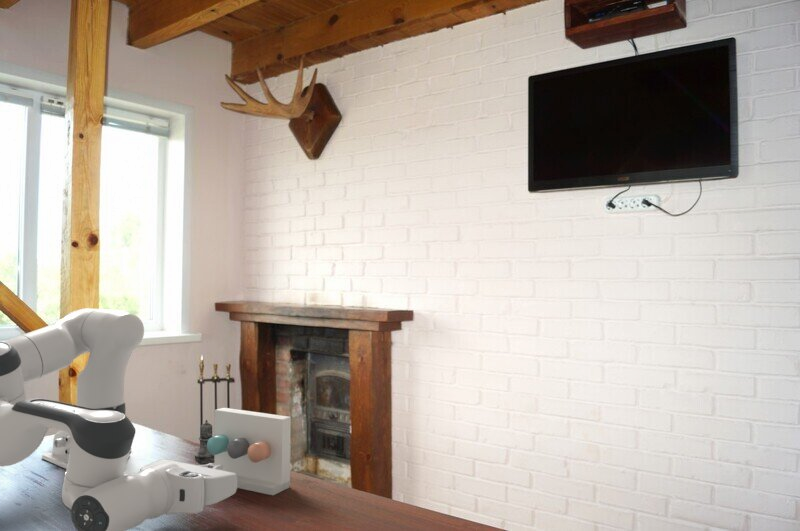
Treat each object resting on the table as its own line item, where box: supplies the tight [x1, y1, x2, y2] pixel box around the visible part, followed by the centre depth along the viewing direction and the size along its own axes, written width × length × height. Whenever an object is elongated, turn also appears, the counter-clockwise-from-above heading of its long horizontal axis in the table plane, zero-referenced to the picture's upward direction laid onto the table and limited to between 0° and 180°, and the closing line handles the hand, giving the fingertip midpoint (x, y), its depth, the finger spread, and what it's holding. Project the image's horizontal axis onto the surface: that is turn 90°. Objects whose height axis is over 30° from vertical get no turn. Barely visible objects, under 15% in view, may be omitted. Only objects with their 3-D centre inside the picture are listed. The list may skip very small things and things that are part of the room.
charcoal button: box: [227, 438, 250, 459], centre depth 142 cm, size 4×3×4 cm
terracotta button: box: [248, 441, 271, 463], centre depth 139 cm, size 4×3×4 cm
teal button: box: [207, 434, 229, 455], centre depth 145 cm, size 4×3×4 cm
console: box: [213, 407, 292, 496], centre depth 145 cm, size 20×6×16 cm, turn 63°
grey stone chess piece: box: [193, 419, 214, 465], centre depth 157 cm, size 6×6×12 cm
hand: (217, 467), depth 128 cm, fingers closed
